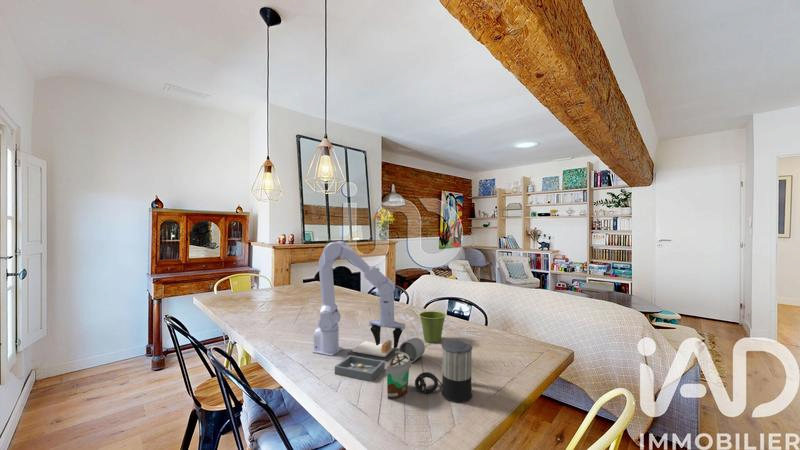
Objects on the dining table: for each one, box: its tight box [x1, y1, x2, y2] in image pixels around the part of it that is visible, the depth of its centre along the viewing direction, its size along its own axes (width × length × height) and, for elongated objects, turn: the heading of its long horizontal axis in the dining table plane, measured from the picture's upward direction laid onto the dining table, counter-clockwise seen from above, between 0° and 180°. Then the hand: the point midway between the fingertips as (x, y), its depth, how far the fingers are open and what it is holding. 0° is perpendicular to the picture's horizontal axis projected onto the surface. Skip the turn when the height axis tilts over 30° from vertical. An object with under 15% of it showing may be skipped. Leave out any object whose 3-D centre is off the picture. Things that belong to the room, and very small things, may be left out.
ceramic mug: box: [398, 337, 426, 364], centre depth 121 cm, size 11×8×8 cm
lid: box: [351, 339, 394, 357], centre depth 126 cm, size 14×10×4 cm
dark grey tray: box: [334, 354, 386, 382], centre depth 110 cm, size 14×10×3 cm
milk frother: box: [414, 339, 474, 403], centre depth 96 cm, size 14×16×15 cm
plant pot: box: [418, 310, 447, 343], centre depth 139 cm, size 12×12×11 cm
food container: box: [386, 350, 412, 400], centre depth 97 cm, size 12×6×10 cm, turn 168°
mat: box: [347, 347, 399, 362], centre depth 127 cm, size 17×12×1 cm
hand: (386, 345), depth 125 cm, fingers open, 7 cm apart
